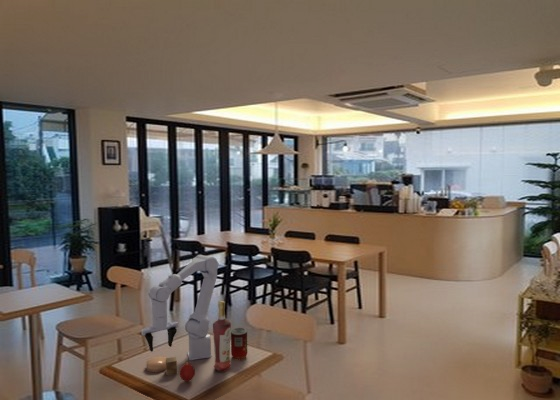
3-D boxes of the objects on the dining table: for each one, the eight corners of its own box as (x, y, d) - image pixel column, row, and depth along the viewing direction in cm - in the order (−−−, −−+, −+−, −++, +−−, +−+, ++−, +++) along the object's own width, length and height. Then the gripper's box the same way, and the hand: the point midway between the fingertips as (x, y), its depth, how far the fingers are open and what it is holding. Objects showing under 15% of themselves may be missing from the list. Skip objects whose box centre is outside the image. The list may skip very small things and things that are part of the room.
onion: (181, 378, 159) (180, 358, 159) (196, 377, 160) (195, 358, 159) (178, 386, 153) (178, 365, 153) (194, 385, 154) (193, 365, 153)
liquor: (223, 375, 162) (222, 306, 160) (209, 370, 165) (208, 303, 164) (235, 367, 168) (234, 300, 166) (221, 363, 172) (220, 298, 170)
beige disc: (168, 360, 175) (168, 354, 174) (169, 370, 166) (169, 364, 166) (146, 363, 172) (146, 358, 171) (146, 373, 163) (146, 367, 163)
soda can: (248, 359, 174) (248, 332, 174) (232, 361, 173) (231, 333, 172) (246, 353, 181) (245, 326, 181) (230, 354, 180) (229, 327, 179)
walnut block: (176, 369, 166) (175, 356, 166) (177, 374, 163) (176, 360, 162) (166, 371, 165) (165, 358, 165) (166, 376, 161) (166, 362, 161)
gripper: (173, 309, 171) (174, 340, 172) (138, 316, 163) (139, 349, 164) (179, 313, 165) (180, 346, 166) (143, 321, 157) (144, 355, 158)
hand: (160, 348), depth 165 cm, fingers open, 7 cm apart
